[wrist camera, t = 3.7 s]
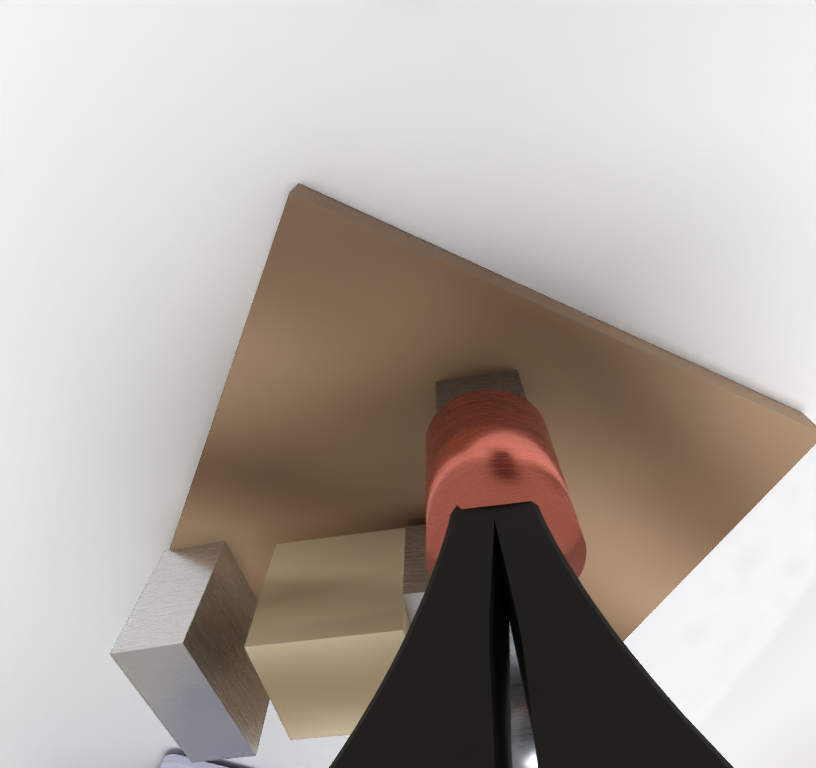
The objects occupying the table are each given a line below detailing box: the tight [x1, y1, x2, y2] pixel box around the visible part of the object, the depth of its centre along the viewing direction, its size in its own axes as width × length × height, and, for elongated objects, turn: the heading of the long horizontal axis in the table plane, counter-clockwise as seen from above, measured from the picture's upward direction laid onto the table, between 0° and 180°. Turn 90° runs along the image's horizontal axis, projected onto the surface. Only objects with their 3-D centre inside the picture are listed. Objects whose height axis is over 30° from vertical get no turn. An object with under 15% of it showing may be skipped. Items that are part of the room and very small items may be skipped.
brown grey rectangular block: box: [110, 541, 270, 763], centre depth 17 cm, size 5×2×4 cm, turn 14°
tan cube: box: [244, 528, 411, 740], centre depth 17 cm, size 4×4×4 cm
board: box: [170, 184, 816, 641], centre depth 18 cm, size 17×15×1 cm
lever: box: [403, 369, 587, 768], centre depth 15 cm, size 14×5×5 cm, turn 11°
